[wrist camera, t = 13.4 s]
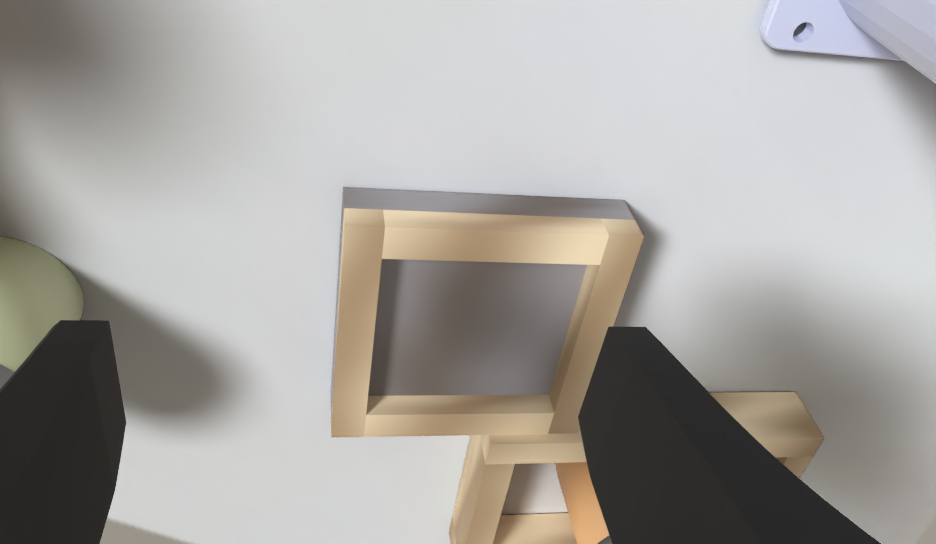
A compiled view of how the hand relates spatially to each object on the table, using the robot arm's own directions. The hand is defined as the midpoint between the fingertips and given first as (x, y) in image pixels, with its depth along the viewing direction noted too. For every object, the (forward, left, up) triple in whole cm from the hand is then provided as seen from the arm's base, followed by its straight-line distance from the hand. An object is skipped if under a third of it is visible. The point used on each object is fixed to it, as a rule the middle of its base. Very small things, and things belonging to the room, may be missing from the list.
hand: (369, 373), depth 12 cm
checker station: (-9, +11, -10) cm, 17 cm away
